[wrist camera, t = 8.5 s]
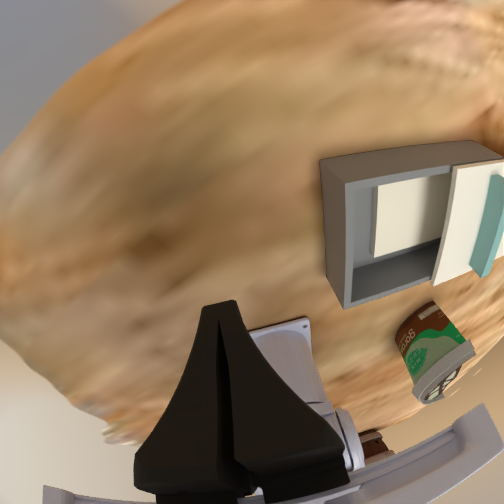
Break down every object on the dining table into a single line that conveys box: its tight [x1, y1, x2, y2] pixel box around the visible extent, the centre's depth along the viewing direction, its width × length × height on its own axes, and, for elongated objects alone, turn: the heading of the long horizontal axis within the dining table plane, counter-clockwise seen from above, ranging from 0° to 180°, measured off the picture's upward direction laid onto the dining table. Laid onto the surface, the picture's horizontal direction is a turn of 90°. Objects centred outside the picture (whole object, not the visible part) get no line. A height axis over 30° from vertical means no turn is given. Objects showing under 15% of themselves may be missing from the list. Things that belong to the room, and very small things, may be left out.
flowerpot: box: [358, 430, 395, 467], centre depth 58 cm, size 14×15×20 cm
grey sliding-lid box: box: [319, 140, 504, 310], centre depth 21 cm, size 11×16×4 cm
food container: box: [395, 301, 476, 405], centre depth 31 cm, size 12×6×10 cm, turn 10°
